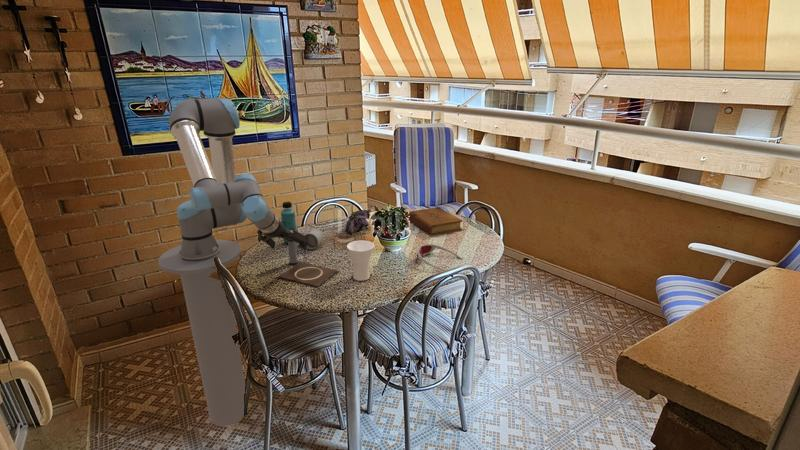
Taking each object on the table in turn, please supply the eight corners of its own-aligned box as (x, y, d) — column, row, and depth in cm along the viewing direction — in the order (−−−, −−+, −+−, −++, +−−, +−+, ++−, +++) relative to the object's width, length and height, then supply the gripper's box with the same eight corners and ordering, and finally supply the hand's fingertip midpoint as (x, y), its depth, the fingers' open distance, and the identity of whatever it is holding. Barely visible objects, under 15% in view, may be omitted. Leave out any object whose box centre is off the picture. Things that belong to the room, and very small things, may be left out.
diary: (408, 221, 220) (408, 211, 218) (438, 216, 228) (438, 206, 226) (430, 236, 201) (430, 225, 199) (461, 230, 209) (462, 219, 207)
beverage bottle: (289, 239, 196) (285, 199, 189) (300, 241, 193) (297, 201, 186) (280, 244, 191) (276, 203, 184) (291, 246, 188) (287, 205, 181)
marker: (288, 264, 171) (285, 237, 167) (293, 260, 174) (290, 234, 170) (294, 265, 170) (292, 239, 166) (299, 262, 173) (297, 236, 168)
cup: (360, 268, 167) (359, 238, 163) (380, 275, 162) (379, 244, 157) (342, 278, 159) (341, 246, 155) (363, 286, 154) (362, 253, 149)
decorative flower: (343, 207, 211) (370, 201, 208) (351, 225, 217) (378, 218, 214) (338, 224, 199) (366, 217, 196) (347, 242, 206) (375, 236, 202)
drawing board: (279, 277, 160) (278, 276, 159) (301, 263, 172) (301, 262, 171) (317, 287, 153) (317, 285, 152) (337, 271, 165) (337, 270, 164)
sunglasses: (425, 249, 185) (428, 239, 183) (460, 263, 179) (462, 253, 177) (408, 263, 171) (410, 253, 169) (445, 279, 165) (447, 268, 163)
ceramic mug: (325, 243, 192) (323, 227, 189) (318, 250, 184) (317, 234, 182) (304, 241, 194) (302, 226, 191) (296, 248, 186) (295, 232, 184)
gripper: (234, 232, 147) (258, 253, 167) (300, 236, 144) (317, 257, 163) (240, 213, 150) (263, 236, 170) (304, 217, 147) (320, 239, 166)
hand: (289, 246), depth 166 cm, fingers open, 13 cm apart
